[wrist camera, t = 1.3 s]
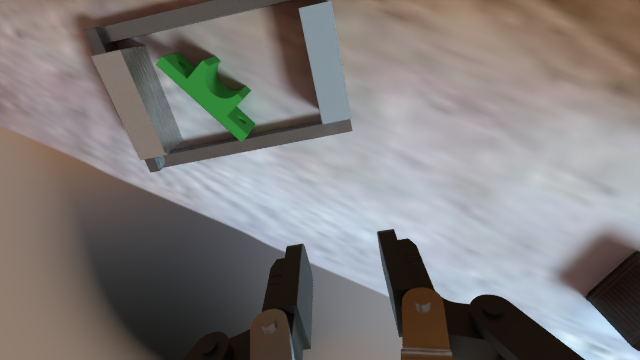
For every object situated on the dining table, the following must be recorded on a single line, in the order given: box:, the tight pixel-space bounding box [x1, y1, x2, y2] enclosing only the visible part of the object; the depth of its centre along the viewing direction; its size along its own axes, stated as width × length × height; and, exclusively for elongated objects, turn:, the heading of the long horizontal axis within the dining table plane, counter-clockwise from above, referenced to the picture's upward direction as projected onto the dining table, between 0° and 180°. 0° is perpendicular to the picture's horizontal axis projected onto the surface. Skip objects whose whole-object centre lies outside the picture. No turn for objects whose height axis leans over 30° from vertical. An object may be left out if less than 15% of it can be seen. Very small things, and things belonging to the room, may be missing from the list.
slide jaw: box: [299, 1, 351, 124], centre depth 35 cm, size 11×3×5 cm, turn 12°
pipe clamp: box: [156, 53, 255, 142], centre depth 36 cm, size 11×4×5 cm, turn 44°
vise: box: [84, 0, 352, 172], centre depth 36 cm, size 16×25×5 cm, turn 102°
